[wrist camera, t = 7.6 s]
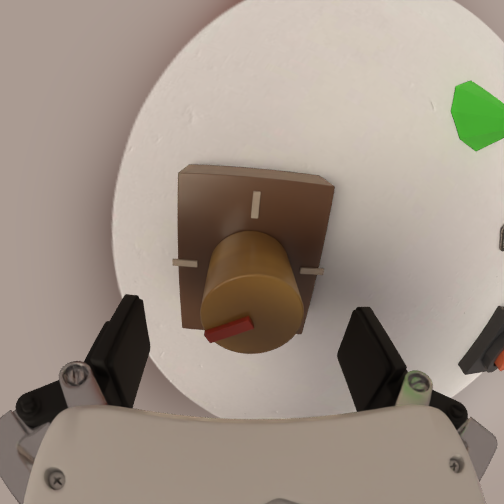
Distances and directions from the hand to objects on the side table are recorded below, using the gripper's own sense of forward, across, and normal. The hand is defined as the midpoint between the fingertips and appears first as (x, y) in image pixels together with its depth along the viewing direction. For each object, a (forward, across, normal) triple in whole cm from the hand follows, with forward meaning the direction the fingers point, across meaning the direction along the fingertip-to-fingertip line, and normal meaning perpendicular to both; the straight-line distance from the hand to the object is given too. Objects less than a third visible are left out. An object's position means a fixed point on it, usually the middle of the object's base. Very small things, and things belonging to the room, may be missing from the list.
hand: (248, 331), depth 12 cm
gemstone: (+7, -17, -14) cm, 23 cm away
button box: (+8, -35, +10) cm, 38 cm away
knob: (+5, 0, -1) cm, 5 cm away
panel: (+8, 0, -1) cm, 8 cm away
